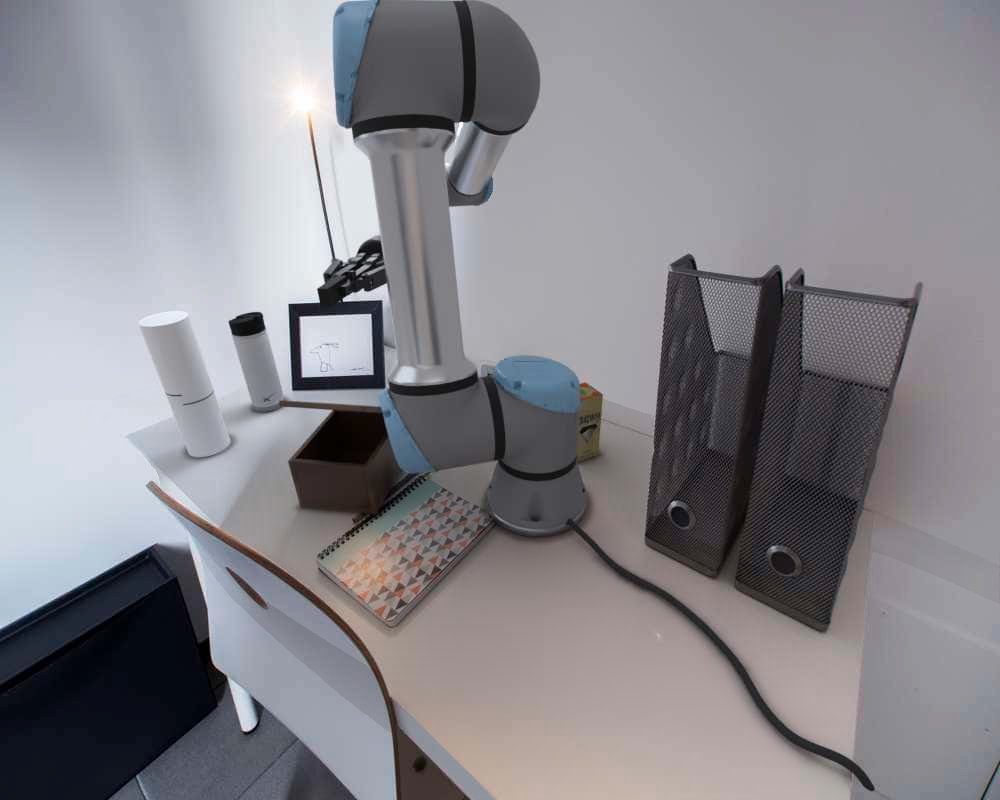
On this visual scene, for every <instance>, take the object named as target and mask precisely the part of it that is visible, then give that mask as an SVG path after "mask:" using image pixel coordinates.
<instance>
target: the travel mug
mask: <svg viewBox="0 0 1000 800" xmlns="http://www.w3.org/2000/svg"><path fill="white" fill-rule="evenodd" d="M264 319H265V318H264V314H263V313H262V312H261V311H252V312H251V311H250V312H246V313H242V314H238V315H236V316H235V318H232V319H229V320H228V325H229V329H230V332H231V336H232V340H233V343H234V347H235V351H236V353H237V357H238V360H239V364H240V368H241V370H242V374H243V377H244V378H243V379H244V380H245V384H246V388H247V391H248V395H249V399H250V401H251V404H252V408H253V410H255V411H257V412H262V413H263V412H267V413H268V412H271V411H275V410H277V409H279V408H281V406H279V401H280V400H282V401H286V399H285V396H284V393H283V389H282V384H281V380H280V376H279V373H278V369H277V365H276V360H275V356H274V354H273V349H272V345H271V342H270V338H269V334H268V331H267V326H266V324H265V320H264Z"/></svg>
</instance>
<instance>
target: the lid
mask: <svg viewBox="0 0 1000 800" xmlns="http://www.w3.org/2000/svg"><path fill="white" fill-rule="evenodd" d="M279 406H281V407H283V408H299V409H300V408H301V409H312V410H326V411H327V410H329V411H332V410H340V411H355V412H382V409H381V405H379V406H378V405H376V406H375V405H363V404H350V403H349V404H347V403H335V402H333V403H332V402H315V401H298V400H285V401H282V400H280V401H279ZM281 407H280V408H281ZM382 413H383V412H382Z"/></svg>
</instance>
